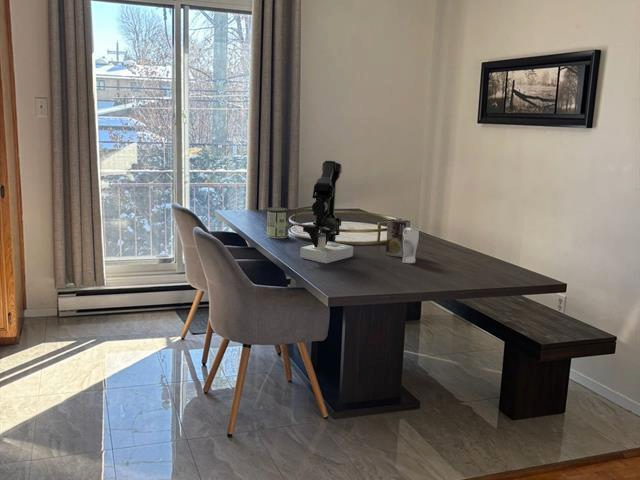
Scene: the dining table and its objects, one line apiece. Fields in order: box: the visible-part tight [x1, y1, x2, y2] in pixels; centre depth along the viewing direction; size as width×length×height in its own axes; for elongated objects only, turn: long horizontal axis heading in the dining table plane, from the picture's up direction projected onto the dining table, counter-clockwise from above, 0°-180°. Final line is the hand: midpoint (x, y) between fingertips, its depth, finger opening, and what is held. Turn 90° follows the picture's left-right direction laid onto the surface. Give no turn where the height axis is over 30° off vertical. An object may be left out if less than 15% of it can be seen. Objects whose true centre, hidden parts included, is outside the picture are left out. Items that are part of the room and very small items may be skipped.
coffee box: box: [385, 218, 411, 258], centre depth 300 cm, size 9×6×16 cm
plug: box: [316, 233, 326, 251], centre depth 286 cm, size 4×4×10 cm
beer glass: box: [401, 226, 420, 265], centre depth 287 cm, size 7×7×15 cm
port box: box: [299, 241, 354, 264], centre depth 291 cm, size 20×14×5 cm
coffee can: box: [266, 206, 289, 239], centre depth 328 cm, size 10×10×14 cm
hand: (320, 246), depth 286 cm, fingers open, 6 cm apart
